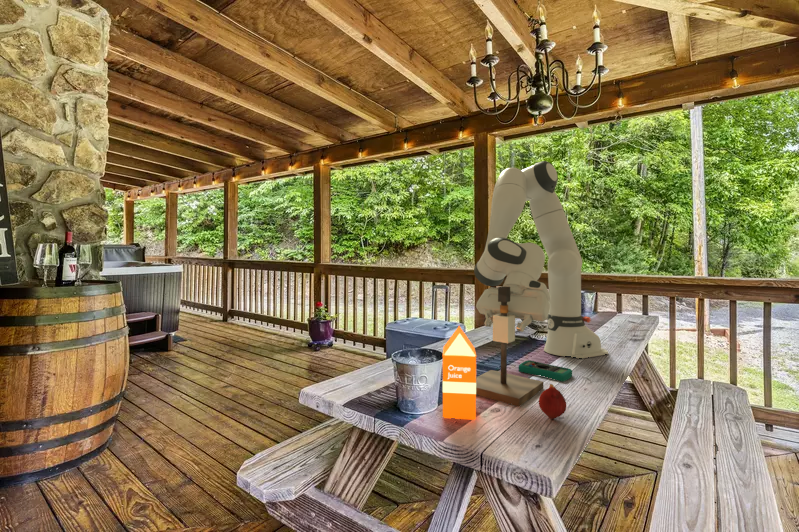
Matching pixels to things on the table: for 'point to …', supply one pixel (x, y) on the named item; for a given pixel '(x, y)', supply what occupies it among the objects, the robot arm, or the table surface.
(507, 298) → the rod stand
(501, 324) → the small beige block
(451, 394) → the orange juice
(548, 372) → the digital multimeter
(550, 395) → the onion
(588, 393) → the table surface
